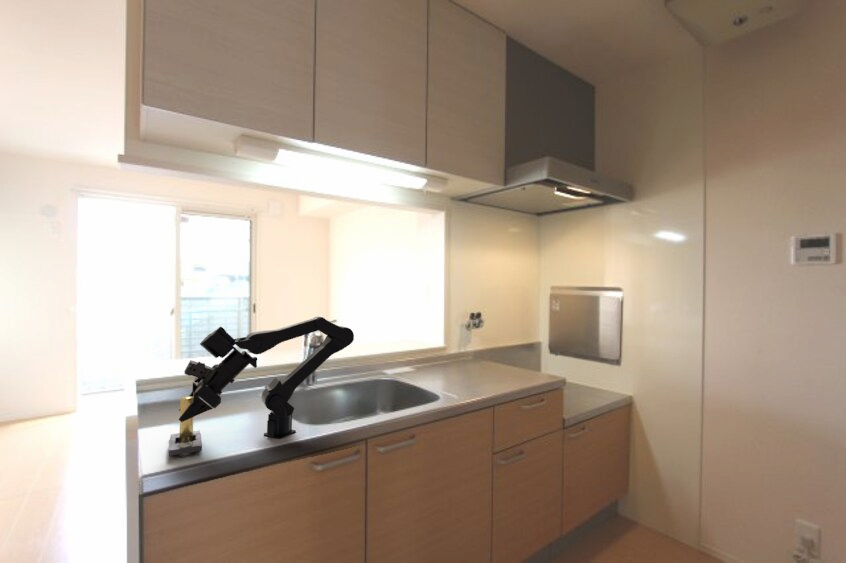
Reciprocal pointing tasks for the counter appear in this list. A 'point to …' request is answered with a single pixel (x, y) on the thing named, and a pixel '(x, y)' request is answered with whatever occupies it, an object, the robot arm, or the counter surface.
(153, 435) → the counter surface
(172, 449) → the grey slotted block
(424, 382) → the counter surface
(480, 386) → the counter surface
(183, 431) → the pin
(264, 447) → the counter surface
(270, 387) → the robot arm
